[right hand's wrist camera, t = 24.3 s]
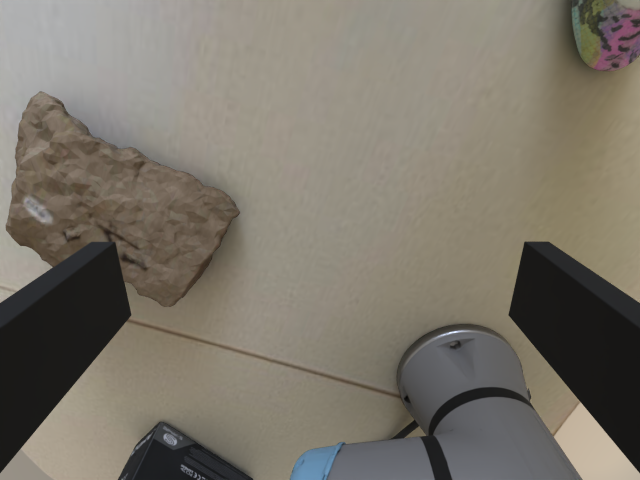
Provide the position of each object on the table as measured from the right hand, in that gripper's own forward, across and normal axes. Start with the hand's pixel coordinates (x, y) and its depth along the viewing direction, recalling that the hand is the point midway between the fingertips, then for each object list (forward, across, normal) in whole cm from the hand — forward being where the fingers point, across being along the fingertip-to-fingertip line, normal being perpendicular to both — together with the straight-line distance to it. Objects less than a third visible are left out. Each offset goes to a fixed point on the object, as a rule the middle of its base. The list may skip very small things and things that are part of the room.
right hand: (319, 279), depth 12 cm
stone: (+28, +20, +6) cm, 35 cm away
